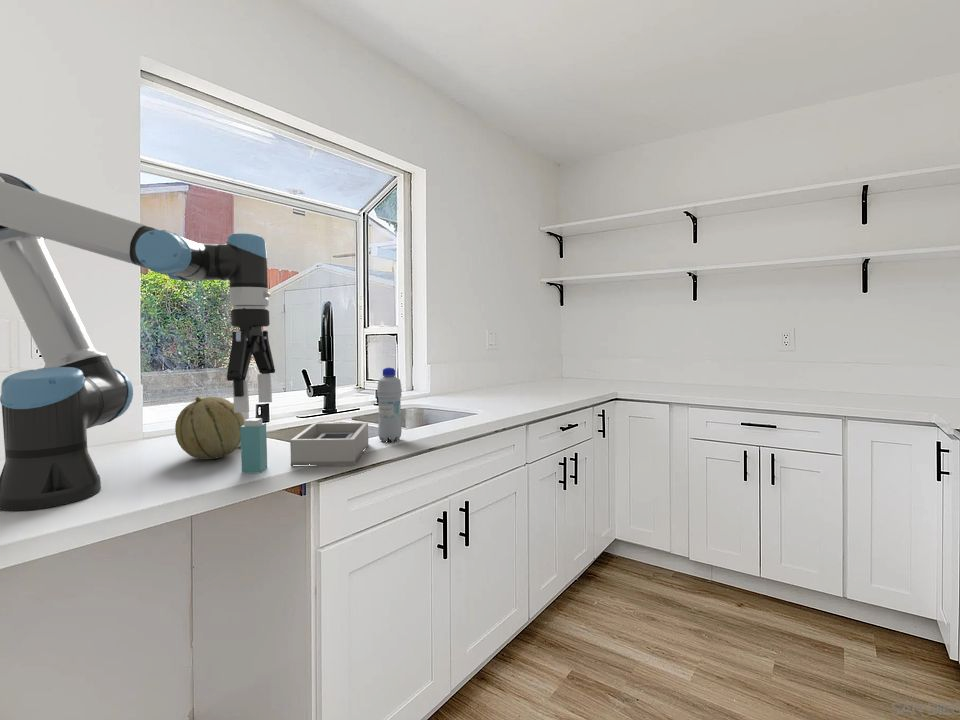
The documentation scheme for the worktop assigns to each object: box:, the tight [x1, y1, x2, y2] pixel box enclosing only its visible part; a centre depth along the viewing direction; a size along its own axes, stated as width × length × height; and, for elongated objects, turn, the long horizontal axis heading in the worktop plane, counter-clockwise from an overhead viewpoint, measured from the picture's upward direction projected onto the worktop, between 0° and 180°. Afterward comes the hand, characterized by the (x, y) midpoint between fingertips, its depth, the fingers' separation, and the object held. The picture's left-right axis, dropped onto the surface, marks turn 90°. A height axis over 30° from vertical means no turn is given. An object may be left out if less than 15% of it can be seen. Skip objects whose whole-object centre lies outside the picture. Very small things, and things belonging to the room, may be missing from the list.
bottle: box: [376, 367, 403, 442], centre depth 143 cm, size 7×7×20 cm
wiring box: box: [289, 422, 369, 467], centre depth 127 cm, size 20×14×6 cm
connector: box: [240, 417, 268, 474], centre depth 114 cm, size 4×4×11 cm
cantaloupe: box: [174, 396, 244, 460], centre depth 124 cm, size 15×15×15 cm
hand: (254, 407), depth 113 cm, fingers open, 13 cm apart
